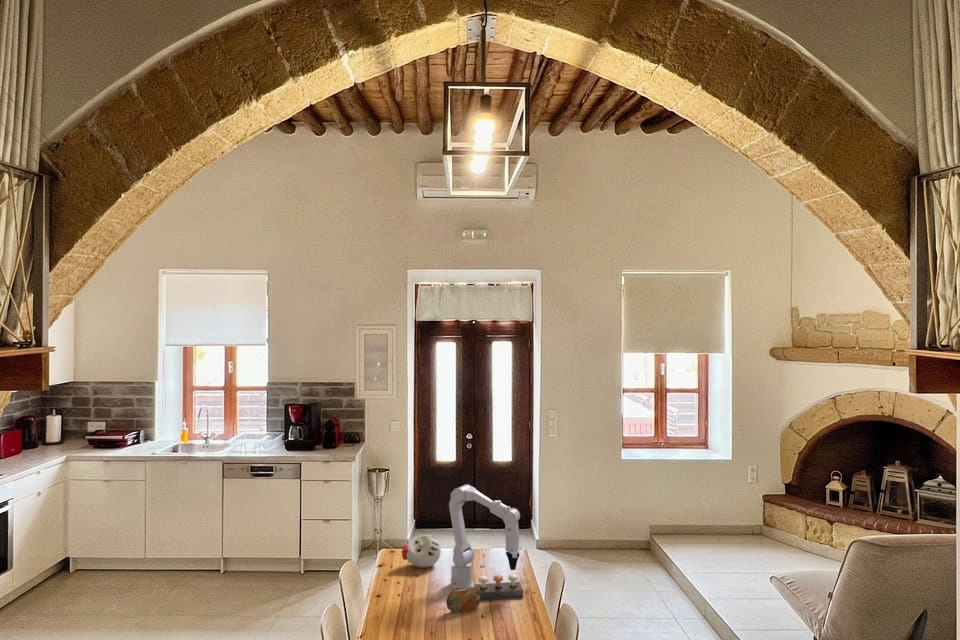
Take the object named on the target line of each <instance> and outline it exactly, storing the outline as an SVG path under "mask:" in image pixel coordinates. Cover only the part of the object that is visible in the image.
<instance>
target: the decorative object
mask: <svg viewBox="0 0 960 640" xmlns="http://www.w3.org/2000/svg"><path fill="white" fill-rule="evenodd" d="M441 552H442V549H441V544H440V542H439V540H438V539H437V538H436V537H435V536H433V535H431V534H421V535H417V536H416V537H414V538H412V539H411V540H410V541H408V543H407V544H406V545H404V546H402V550H401V556H402V559H403V560H404V561H406V560H407V561H409V562H410V564H411V565H413V566H414V567H417V568H422V569H423V568H430V567H432V566H434V565H436V563H437V562H438V561H439V559H440V556H441Z"/></svg>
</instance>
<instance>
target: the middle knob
mask: <svg viewBox="0 0 960 640" xmlns="http://www.w3.org/2000/svg"><path fill="white" fill-rule="evenodd" d="M503 580H504V576H503V575H499V574H497V575H493V581H494V582H495V583H496V587H497V588H500V587H501V583H502V582H503Z"/></svg>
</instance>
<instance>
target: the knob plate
mask: <svg viewBox="0 0 960 640" xmlns="http://www.w3.org/2000/svg"><path fill="white" fill-rule="evenodd" d="M473 586H474V587H473V588H476V589H478V590H479V591H480V593H481V601H489V600H490V601H491V600H502V599H503V600H504V599H505V598H507V599H519V598H521V599H522V598H524V589H523V587H522V584H521V583H520V581H516V586H515V587H511V581H510V582H509V581H507V582H501V587H500V588H497V587H496V582H495V583H494V582H493V583H492V582H491V583H486V588H485V589H482V588H481V583H477V584H475V583H473Z"/></svg>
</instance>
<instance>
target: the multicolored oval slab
mask: <svg viewBox="0 0 960 640" xmlns="http://www.w3.org/2000/svg"><path fill="white" fill-rule="evenodd" d="M481 601H482V600H481V593H480V591H479V590H478V589H476V588H474V587H469V588H459V589H457V590H453V591H451V592H449V594H448V595H447V597H446V599H445V604H446V607H447V609H448V610H449V611H450V612H451V613H452V614H460V613H463V612H468V611H472V610H475V609H476V608H478V607H479V605H480V604H481ZM459 612H460V613H459Z"/></svg>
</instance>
